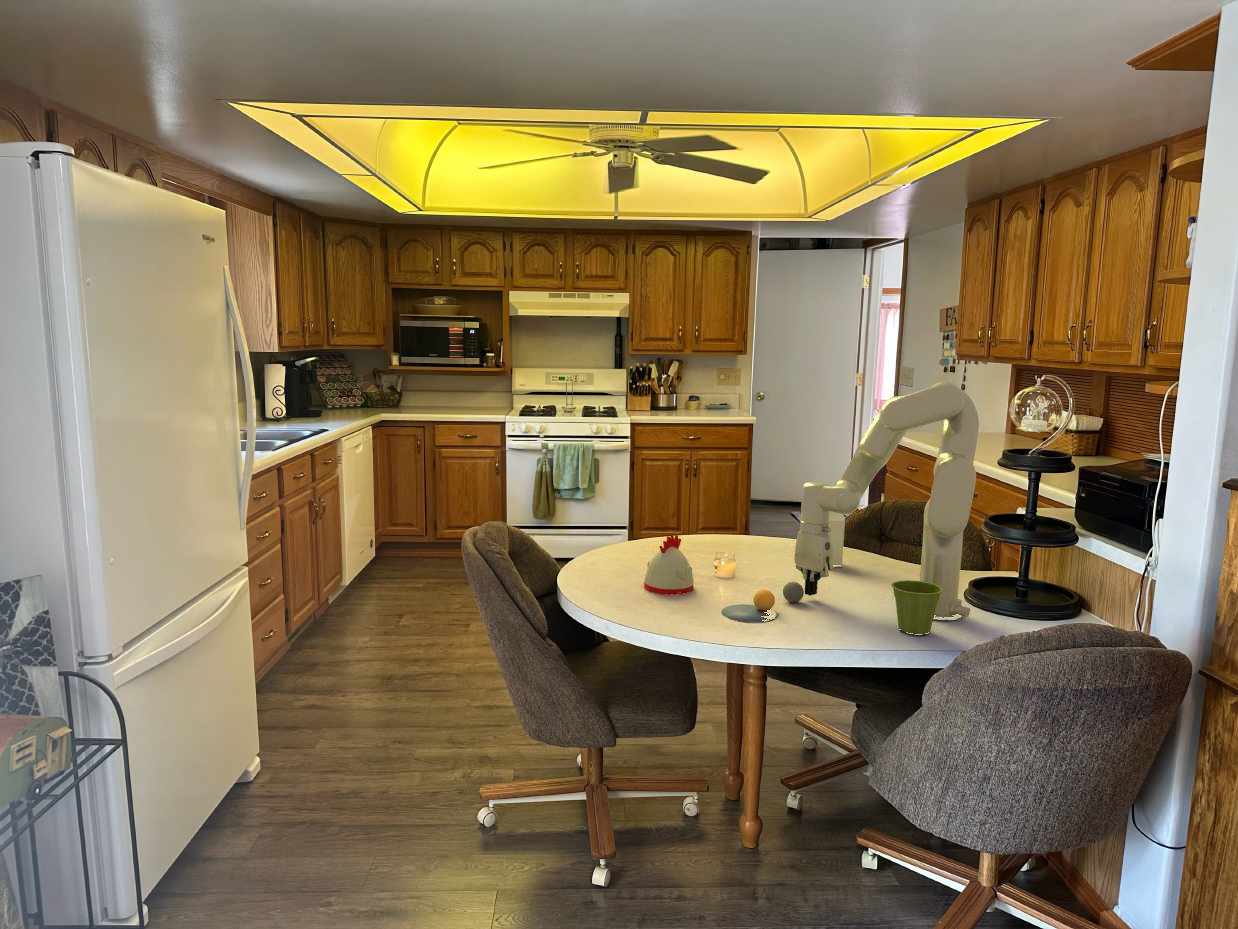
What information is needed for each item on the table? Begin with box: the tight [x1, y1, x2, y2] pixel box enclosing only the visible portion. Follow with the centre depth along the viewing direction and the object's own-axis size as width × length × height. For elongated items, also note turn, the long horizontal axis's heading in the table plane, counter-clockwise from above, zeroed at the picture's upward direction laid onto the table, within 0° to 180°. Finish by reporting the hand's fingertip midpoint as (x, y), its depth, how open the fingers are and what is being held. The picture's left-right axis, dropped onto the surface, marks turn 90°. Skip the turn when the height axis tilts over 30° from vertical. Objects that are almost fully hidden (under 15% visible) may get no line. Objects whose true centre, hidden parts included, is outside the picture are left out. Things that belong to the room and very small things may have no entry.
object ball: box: [752, 588, 776, 611], centre depth 216 cm, size 6×6×6 cm
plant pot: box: [890, 580, 943, 635], centre depth 202 cm, size 12×12×11 cm
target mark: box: [721, 603, 770, 623], centre depth 213 cm, size 14×14×1 cm
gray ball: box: [782, 581, 805, 603], centre depth 223 cm, size 6×6×6 cm
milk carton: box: [829, 511, 846, 566], centre depth 262 cm, size 7×7×19 cm
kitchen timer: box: [643, 534, 694, 596], centre depth 233 cm, size 14×14×15 cm
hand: (810, 594), depth 226 cm, fingers closed
